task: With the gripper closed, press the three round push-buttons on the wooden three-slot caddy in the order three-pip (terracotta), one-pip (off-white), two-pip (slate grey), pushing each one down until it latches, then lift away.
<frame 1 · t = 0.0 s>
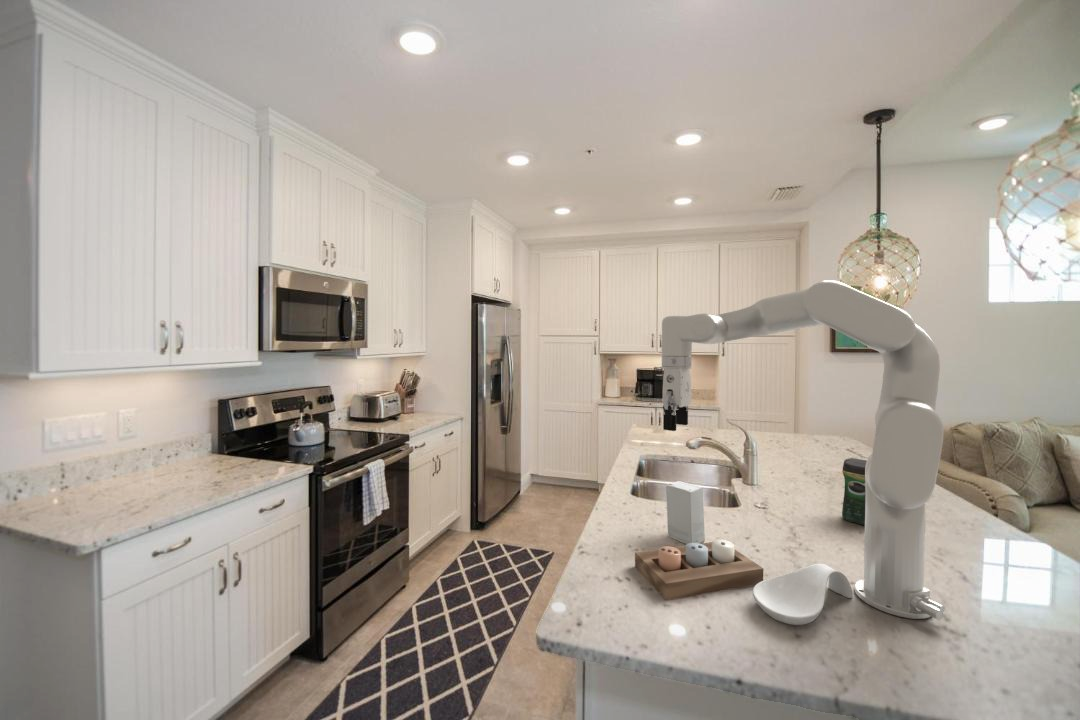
hand: (675, 427, 114), 31 cm above the table, tool pointing down, fingers open, 9 cm apart
three-pip button: (669, 560, 97), point 4 cm above the table, slide at 0.0 cm
wooden three-slot caddy: (696, 574, 99), on the table
coffee jar: (861, 522, 129), on the table
spoon rest: (805, 608, 87), on the table
skincare box: (685, 539, 117), on the table
two-pip button: (696, 556, 99), point 4 cm above the table, slide at 0.0 cm
one-pip button: (723, 552, 100), point 4 cm above the table, slide at 0.0 cm
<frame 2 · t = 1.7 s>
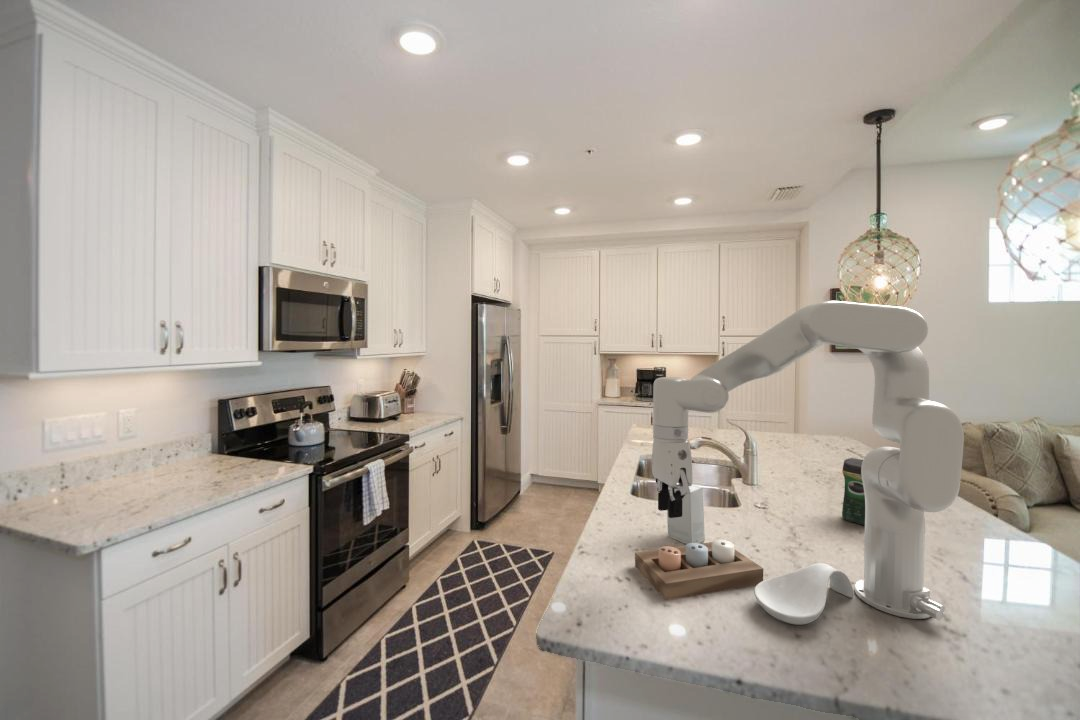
hand: (669, 512, 97), 15 cm above the table, tool pointing down, fingers open, 3 cm apart
nothing on the table moved.
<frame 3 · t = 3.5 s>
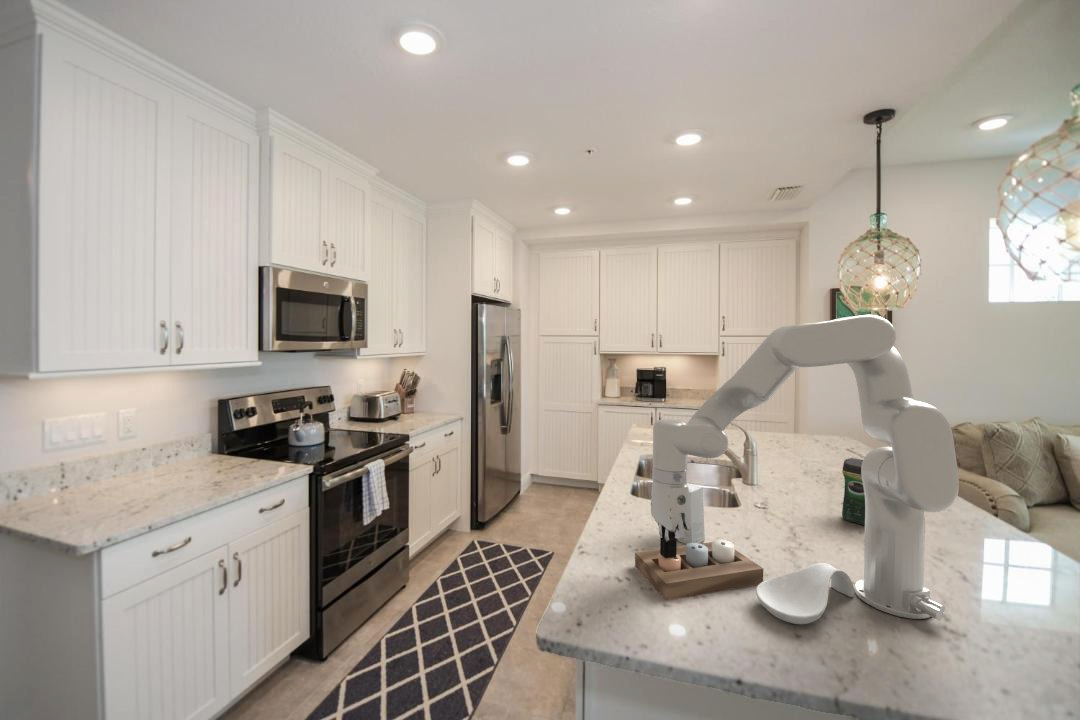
hand: (668, 555, 97), 5 cm above the table, tool pointing down, fingers closed
three-pip button: (669, 565, 97), point 3 cm above the table, slide at 1.3 cm, touching gripper
everything else where it was.
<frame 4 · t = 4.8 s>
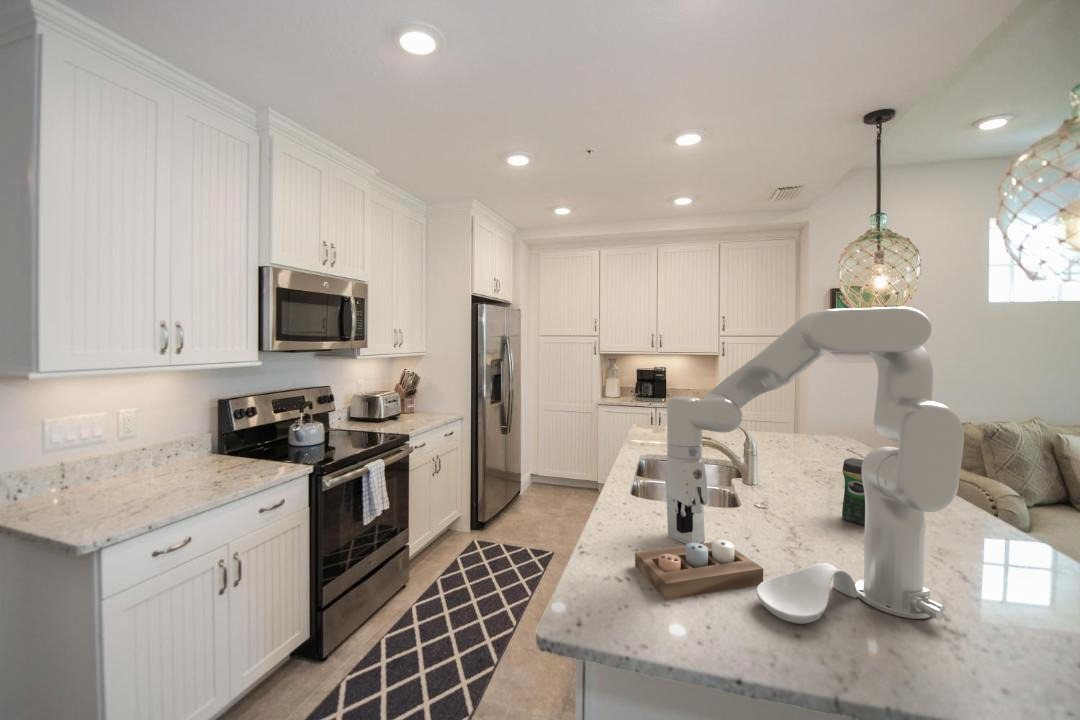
hand: (684, 531, 97), 11 cm above the table, tool pointing down, fingers closed
three-pip button: (669, 567, 97), point 3 cm above the table, slide at 1.7 cm
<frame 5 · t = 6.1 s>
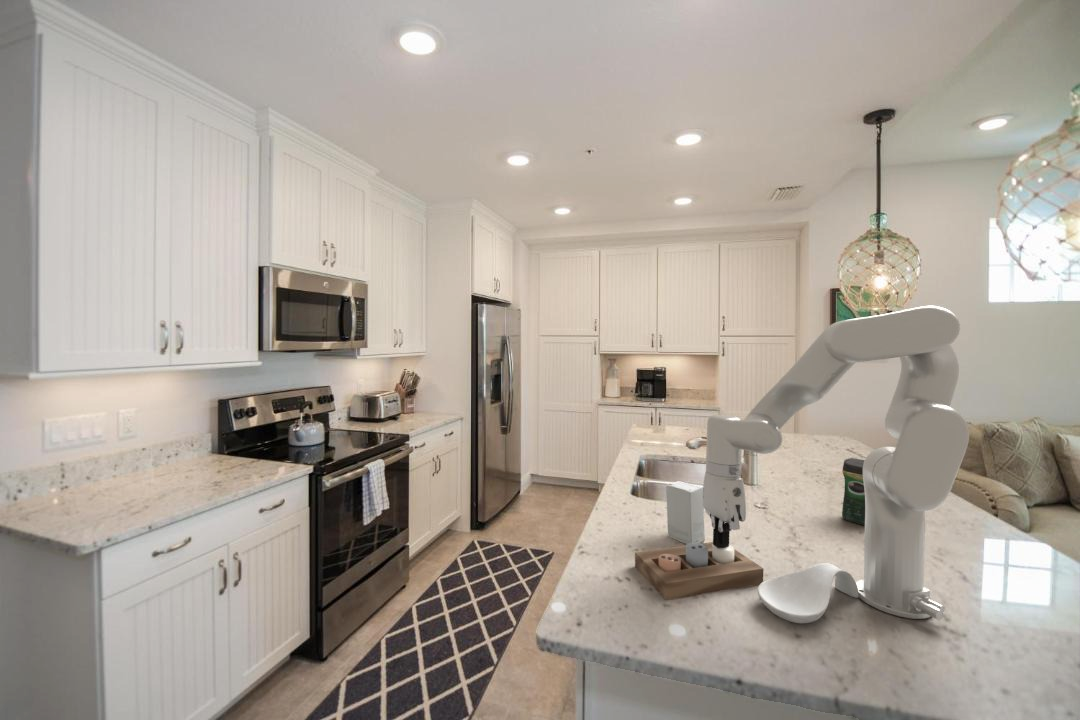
hand: (720, 545, 100), 6 cm above the table, tool pointing down, fingers closed
one-pip button: (723, 556, 100), point 4 cm above the table, slide at 0.8 cm, touching gripper
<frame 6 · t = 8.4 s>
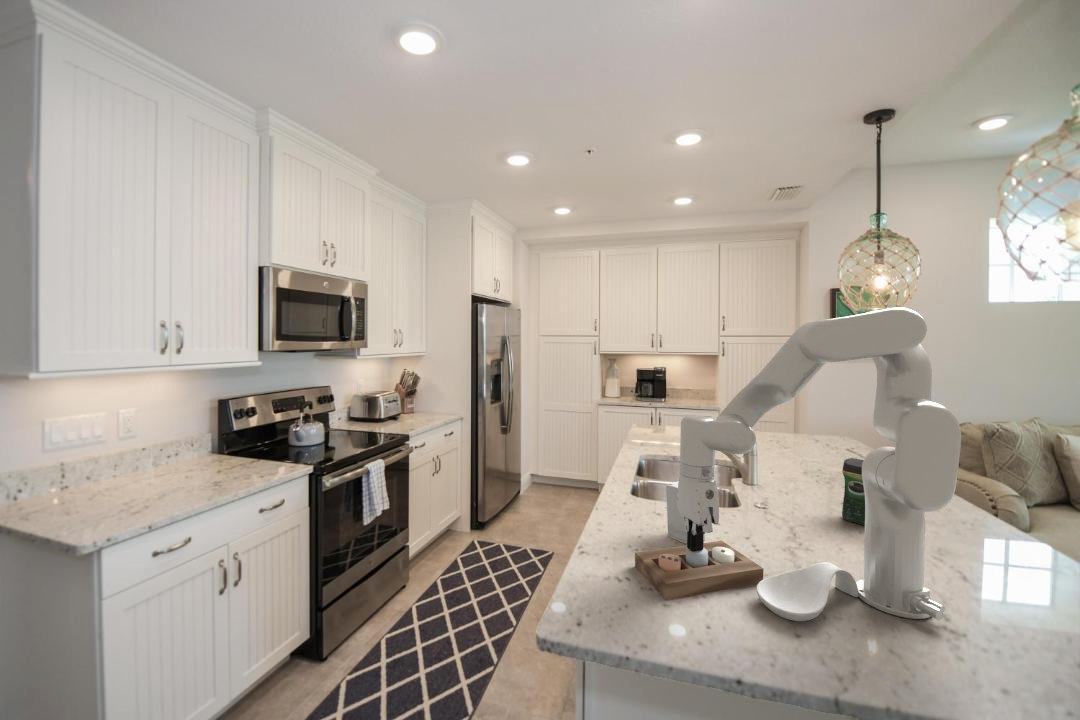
hand: (695, 549, 99), 6 cm above the table, tool pointing down, fingers closed
two-pip button: (696, 559, 99), point 4 cm above the table, slide at 0.7 cm, touching gripper
one-pip button: (722, 560, 100), point 3 cm above the table, slide at 1.8 cm
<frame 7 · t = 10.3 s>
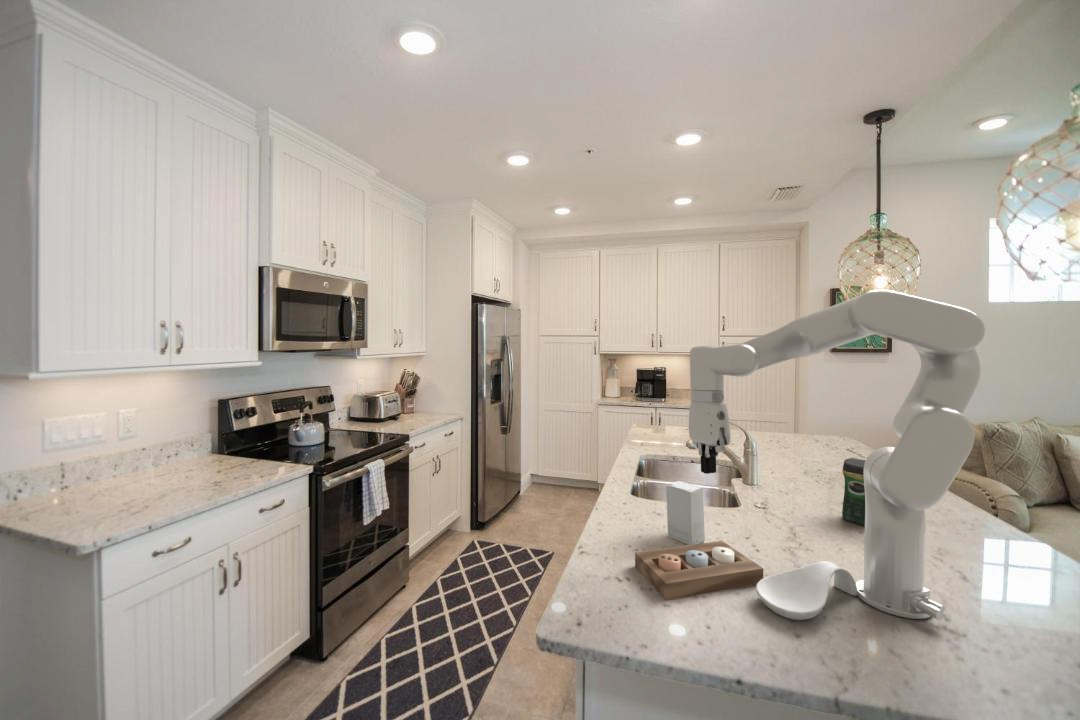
hand: (708, 472, 104), 22 cm above the table, tool pointing down, fingers closed
two-pip button: (696, 564, 99), point 3 cm above the table, slide at 1.8 cm
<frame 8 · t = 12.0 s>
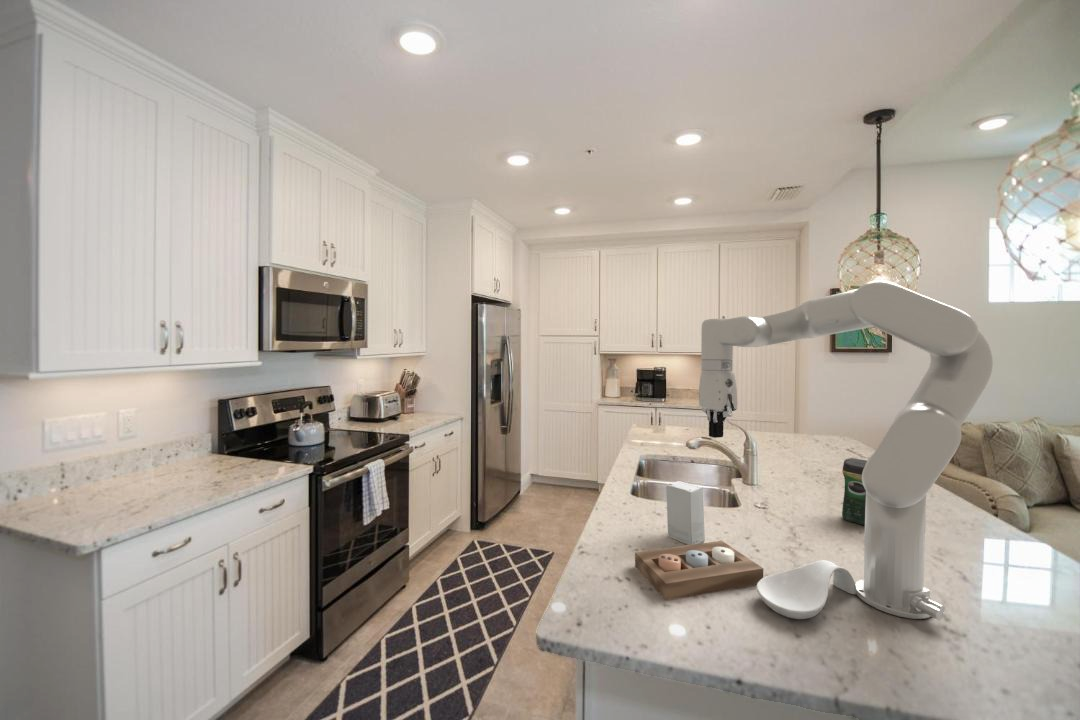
hand: (716, 436, 112), 29 cm above the table, tool pointing down, fingers closed
at the end: three-pip button slide at 1.7 cm; one-pip button slide at 1.8 cm; two-pip button slide at 1.8 cm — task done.
